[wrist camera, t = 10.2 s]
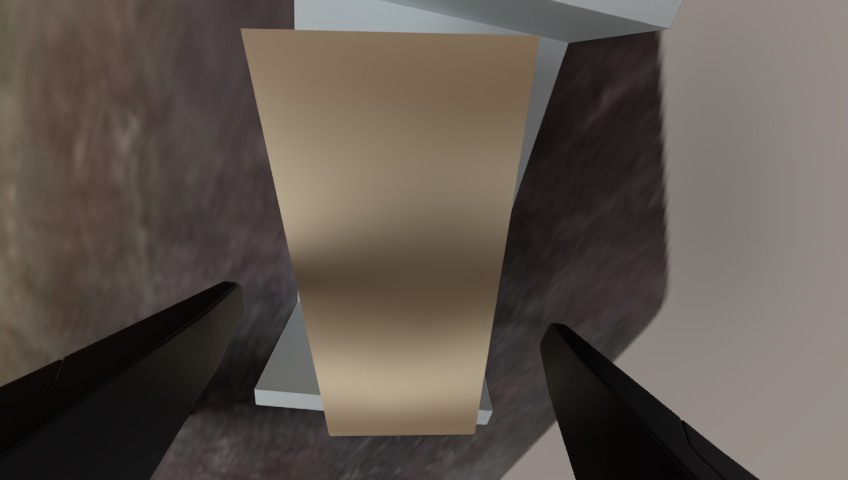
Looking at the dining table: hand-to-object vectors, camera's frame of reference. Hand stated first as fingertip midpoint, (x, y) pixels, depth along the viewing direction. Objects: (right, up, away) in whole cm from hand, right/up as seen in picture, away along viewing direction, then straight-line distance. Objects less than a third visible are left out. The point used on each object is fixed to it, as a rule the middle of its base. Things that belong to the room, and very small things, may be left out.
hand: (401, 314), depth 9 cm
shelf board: (0, +2, +4) cm, 5 cm away
